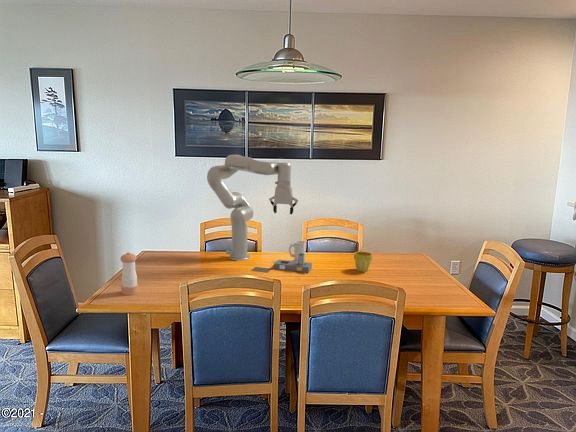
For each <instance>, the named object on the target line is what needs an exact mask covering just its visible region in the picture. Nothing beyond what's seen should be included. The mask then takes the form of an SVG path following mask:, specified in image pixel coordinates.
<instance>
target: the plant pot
mask: <svg viewBox="0 0 576 432" xmlns="http://www.w3.org/2000/svg"><path fill="white" fill-rule="evenodd" d="M353 260H354V262H355V268H356V269H355V270H356V271H357V272H362V273H363V272H368V271H369V268H370V265H371V262H372V260H373V254H372V253H371V252H369V251H361V250H360V251H354V253H353Z"/></svg>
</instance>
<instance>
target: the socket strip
mask: <svg viewBox="0 0 576 432" xmlns="http://www.w3.org/2000/svg"><path fill="white" fill-rule="evenodd" d="M312 268H313V263H312V262H306V261H305V266H303V265H298V261H294V260H287V259H277V260H276V261H275V262H274V263H273V270H281V271H288V272H297V273H301V272H302V274H309V273H310V272H311V270H312Z"/></svg>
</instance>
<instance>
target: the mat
mask: <svg viewBox="0 0 576 432" xmlns="http://www.w3.org/2000/svg"><path fill="white" fill-rule="evenodd" d="M271 270H272V268H271V267H269V268H268V267H261V266H254V268H252V269H251V270H250V272H257V273H269V272H270V271H271Z"/></svg>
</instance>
